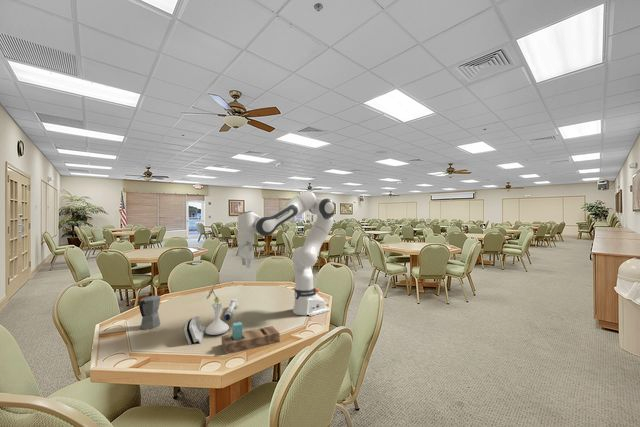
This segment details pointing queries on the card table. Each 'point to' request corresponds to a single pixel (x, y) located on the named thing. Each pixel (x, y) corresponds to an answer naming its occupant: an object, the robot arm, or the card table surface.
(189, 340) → the white plastic case
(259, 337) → the socket block
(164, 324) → the card table surface
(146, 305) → the coffeepot
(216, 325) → the flower in vase
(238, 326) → the peg
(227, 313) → the white plastic cylinder
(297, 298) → the robot arm
